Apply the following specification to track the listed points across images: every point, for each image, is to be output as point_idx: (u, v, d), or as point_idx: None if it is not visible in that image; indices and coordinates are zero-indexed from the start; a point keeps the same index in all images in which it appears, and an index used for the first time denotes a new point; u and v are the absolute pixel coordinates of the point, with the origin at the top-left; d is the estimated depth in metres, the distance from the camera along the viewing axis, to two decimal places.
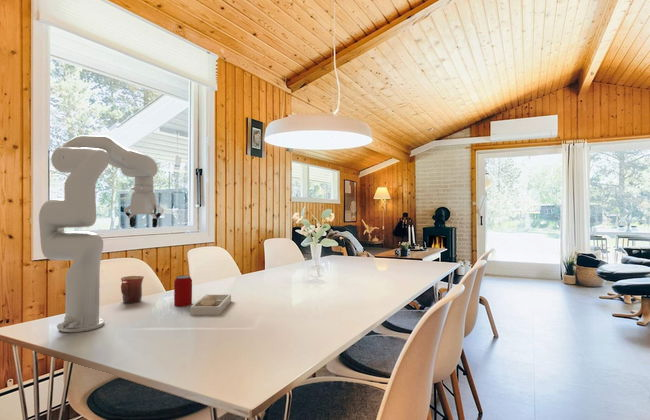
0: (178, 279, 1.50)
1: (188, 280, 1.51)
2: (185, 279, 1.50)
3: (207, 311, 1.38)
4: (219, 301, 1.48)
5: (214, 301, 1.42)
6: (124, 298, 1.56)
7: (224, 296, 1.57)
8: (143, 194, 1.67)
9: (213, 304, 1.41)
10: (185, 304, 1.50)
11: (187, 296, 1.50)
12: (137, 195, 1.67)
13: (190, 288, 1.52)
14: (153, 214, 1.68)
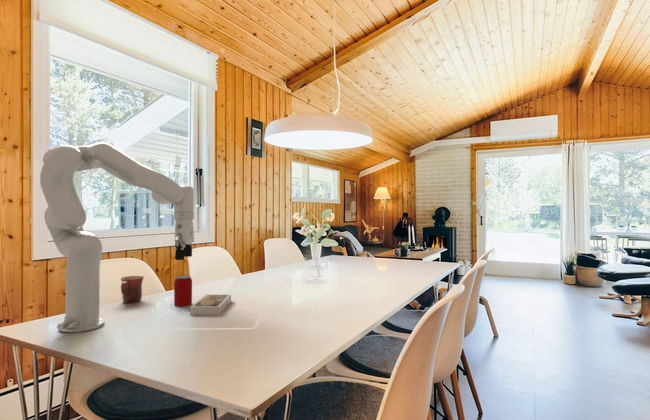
0: (178, 279, 1.50)
1: (188, 280, 1.51)
2: (185, 279, 1.50)
3: (207, 311, 1.38)
4: (219, 301, 1.48)
5: (214, 301, 1.42)
6: (124, 298, 1.56)
7: (224, 296, 1.57)
8: (191, 221, 1.53)
9: (213, 304, 1.41)
10: (185, 304, 1.50)
11: (187, 296, 1.50)
12: (189, 223, 1.51)
13: (190, 288, 1.52)
14: (191, 242, 1.57)
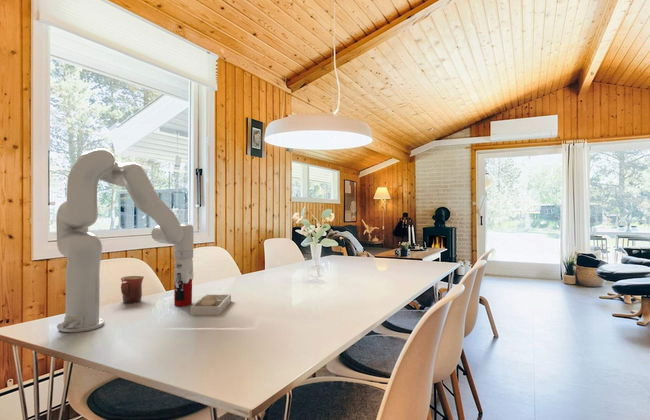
0: None
1: None
2: None
3: (207, 311, 1.38)
4: (219, 301, 1.48)
5: (214, 301, 1.42)
6: (124, 298, 1.56)
7: (224, 296, 1.57)
8: (190, 259, 1.53)
9: (213, 304, 1.41)
10: (185, 304, 1.50)
11: (187, 296, 1.50)
12: (188, 262, 1.51)
13: (190, 288, 1.52)
14: None
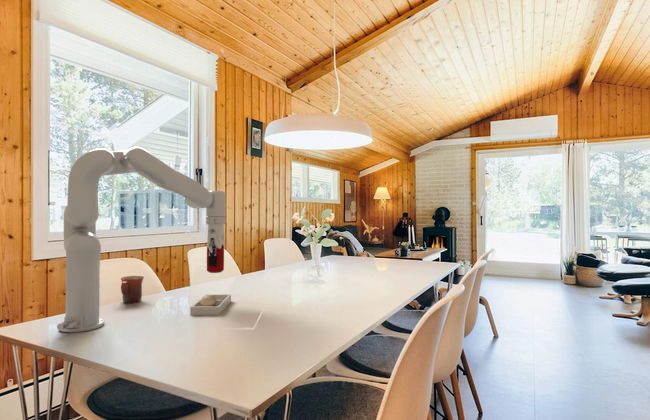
0: None
1: None
2: None
3: (207, 311, 1.38)
4: (219, 301, 1.48)
5: (214, 301, 1.42)
6: (124, 298, 1.56)
7: (224, 296, 1.57)
8: (222, 226, 1.54)
9: (213, 304, 1.41)
10: (218, 269, 1.50)
11: (220, 262, 1.51)
12: (221, 227, 1.51)
13: (222, 254, 1.52)
14: None
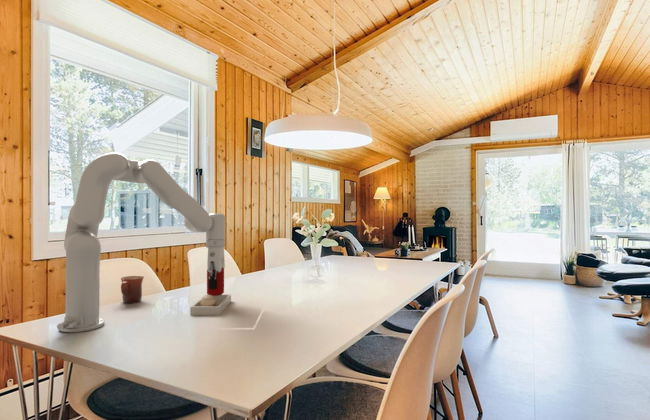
0: None
1: None
2: None
3: (207, 311, 1.38)
4: (219, 301, 1.48)
5: (214, 301, 1.42)
6: (124, 298, 1.56)
7: (224, 296, 1.57)
8: (222, 248, 1.54)
9: (213, 304, 1.41)
10: (218, 292, 1.50)
11: (220, 285, 1.51)
12: (221, 250, 1.51)
13: (222, 277, 1.52)
14: None
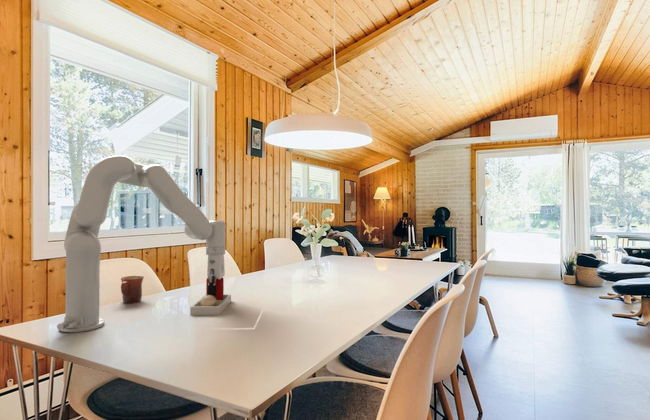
0: None
1: None
2: None
3: (207, 311, 1.38)
4: (219, 301, 1.48)
5: (214, 301, 1.42)
6: (124, 298, 1.56)
7: (224, 296, 1.57)
8: (222, 255, 1.54)
9: (213, 304, 1.41)
10: None
11: (219, 295, 1.51)
12: (221, 258, 1.51)
13: (222, 286, 1.52)
14: None
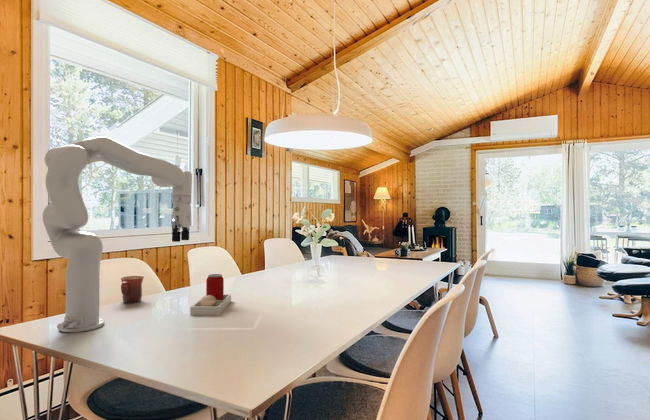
0: (210, 277, 1.50)
1: (220, 279, 1.51)
2: (217, 277, 1.51)
3: (207, 311, 1.38)
4: (219, 301, 1.48)
5: (214, 301, 1.42)
6: (124, 298, 1.56)
7: (224, 296, 1.57)
8: (188, 205, 1.58)
9: (213, 304, 1.41)
10: None
11: (219, 295, 1.51)
12: (186, 206, 1.56)
13: (222, 286, 1.52)
14: (188, 226, 1.62)
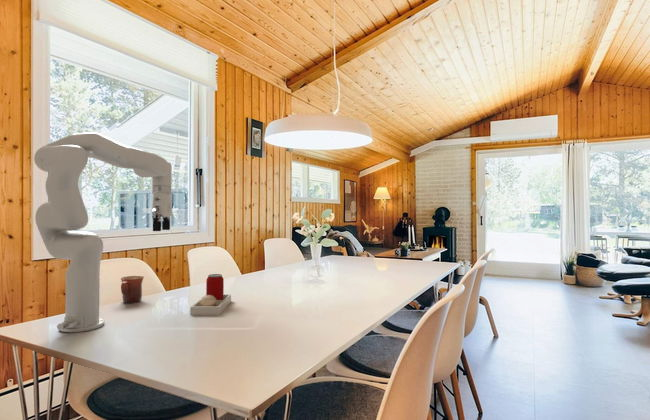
0: (210, 277, 1.50)
1: (220, 279, 1.51)
2: (217, 277, 1.51)
3: (207, 311, 1.38)
4: (219, 301, 1.48)
5: (214, 301, 1.42)
6: (124, 298, 1.56)
7: (224, 296, 1.57)
8: (169, 195, 1.61)
9: (213, 304, 1.41)
10: None
11: (219, 295, 1.51)
12: (166, 197, 1.58)
13: (222, 286, 1.52)
14: (169, 216, 1.65)
